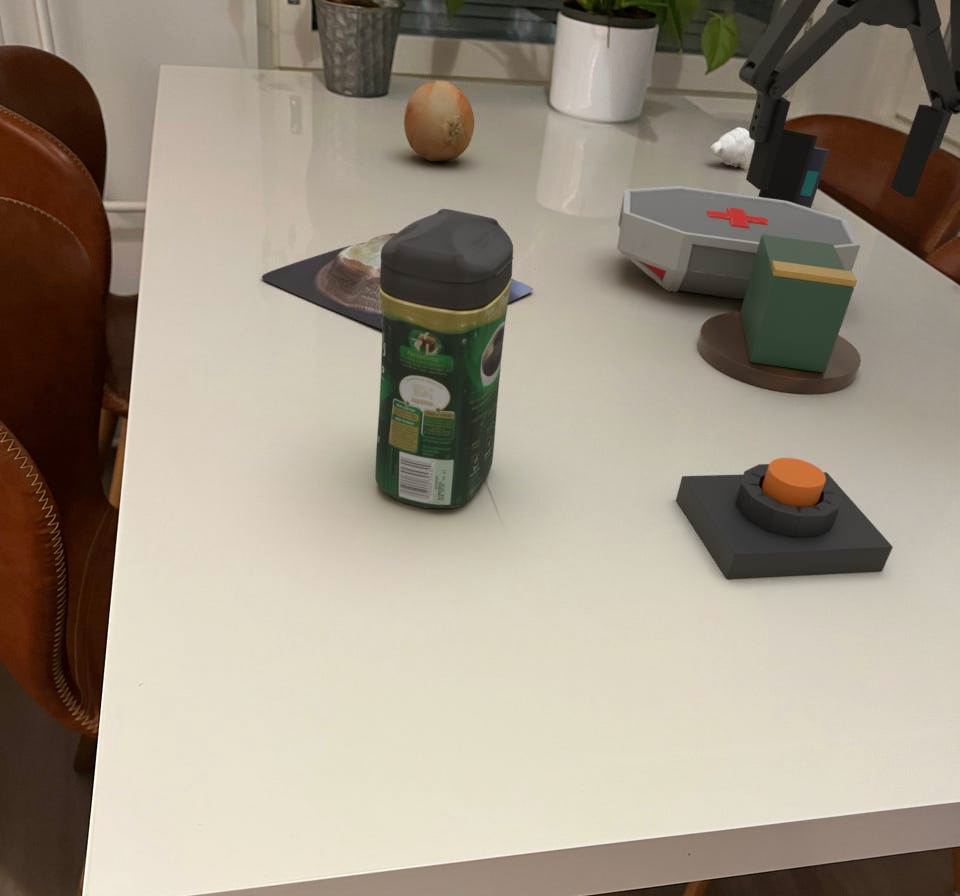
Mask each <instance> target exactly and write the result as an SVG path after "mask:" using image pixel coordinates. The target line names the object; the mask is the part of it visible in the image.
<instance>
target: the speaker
mask: <svg viewBox="0 0 960 896" xmlns="http://www.w3.org/2000/svg"><path fill="white" fill-rule="evenodd" d="M818 138H819V136H818V135H815V134H811V133H805V132H802V131H795V130H791V129H787V128H784V129H783V132H782V136H781V140H780V143H779V147H778V151H777V155H776V158H775V162H774V166H773V169H772V173H771V177H770V180H769V184H768V188H767V190H759V192H758V195H757V197H762V198H769V199H777V200H784V201H789V202H792V203H795V204H798V205H801V206H804V207H808V208H811V209H812V206H813V203H814V200H815V198H816V194H817V192H818V189H819V185H820V181H821V179H822V175H823V173H824V169H825V166H826V163H827V161H828V157H829V153H830V149H827V148H824V147H819V146H816V144H817V140H818Z"/></svg>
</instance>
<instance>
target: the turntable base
mask: <svg viewBox="0 0 960 896" xmlns="http://www.w3.org/2000/svg"><path fill="white" fill-rule="evenodd" d="M740 312H741V311H732V312H725V313H720V314H717V315H714V316H712V317H710V318H708V319H707V320H706V321H704V322H703V323H702V324H701V327H700V332H699V335H698V339H697V344H696V345H697V350H698V352H699V355H701V357H702V358H703V359H704V360H705V362H706V363H708V364H709V365H710V366H712V367H713V368H715V369H716V370H717V371H719V372H721V373H723V374H724V375H727V376H729V377H731V378H733V379H736V380H738V381H740V382H743V383H746V384H748V385H752V386H755V387H759V388H763V389H767V390H770V391H771V390H772V391H775V392H776V391H777V392H782V393H789V394H801V395H818V394H819V395H820V394H829V393H834V392H837V391H841V390H843V389H845V388H847V387H849V386H850V385H851V384H853V382H854V381H855V379H856V377H857V374H858V371H859V368H860V366H861V363H862V360H861V354H860V352H859V350H858V349H857V348H856V347H855V346H854V345H853V344H852V343H851V342H850V341H848V340H847V339H846V338H845V337H843V336H841V335H839V334H838V337H837V339H836V342H835V345H834V348H833V351H832V354H831V357H830V360H829V363H828V366H827V369H826V372H825V373H822V372H815V371H808V370H801V369H794V368H787V367H779V366H772V365H765V364H758V363H751V362H750V358H749V353H748V348H747V344H746V339H745V334H744V330H743V325H742V320H741V315H740Z"/></svg>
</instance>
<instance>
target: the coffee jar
mask: <svg viewBox="0 0 960 896" xmlns="http://www.w3.org/2000/svg"><path fill="white" fill-rule="evenodd" d="M396 233H397V234H396V235H394V236H393V237H392V238H391V239H390V240H389V241H388V242H386V243H385V244H384V246H383V247H382V250H381V269H380V285H379V294H380V302H381V311H382V329H381V356H380V357H381V359H380V361H381V362H380V364H381V365H380V383H379V384H380V385H379V404H378V405H379V406H378V420H377V421H378V422H377V433H376V448H375V449H376V451H375V452H376V453H375V471H374V472H375V474H374V475H375V476H374V478H375V482H376V484H377V486H378V487H379V489H380V490H382V492H384V493H385V494H387V495H389V496H391V497H393V498H394V499H395V500H397V501H399V502H402V503H404V504H408V505H410V506H413V507H419V508H424V509H451V508H454V509H455V508H459V507H461V506H463V505H465V504H466V503H467V502H468V501H470V500H471V499H472V498H473V497H474V495H475V494H476V493H477V492H478V491H479V489H480V488H481V487H482V485H483V484H484V482H485V481H486V479H487V478H488V475H489V473H490V471H491V468H492V466H493V460H494V452H495V451H494V450H495V449H494V448H495V440H496V439H495V438H496V424H497V411H498V401H499V400H498V399H499V389H500V386H499V385H500V377H501V369H502V368H501V367H502V357H503V356H502V355H503V347H504V337H505V329H506V320H507V312H508V306H509V303H508V299H509V292H510V285H511V279H512V276H513V259H514V245H513V241H512V239H511V237H510V235H509V234H508V233H507V232H506V230H505V229H504V228H503V227H502V226H501V224H500V223H499V222H498V220H497V219H495V218H494V217H489V216H484V215H480V214H474V213H471V212H470V213H469V212H465V211H459V210H454V209H449V208H441V209H439V210H438V211H437V212H436V213H433V214H430V215H427V216H425V217H422V218H420V219H418V220H416V221H413V222H412V223H410V224H408V225H406V226H405V227H404V228H403V229H401V230H399V231H398V232H396Z"/></svg>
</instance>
